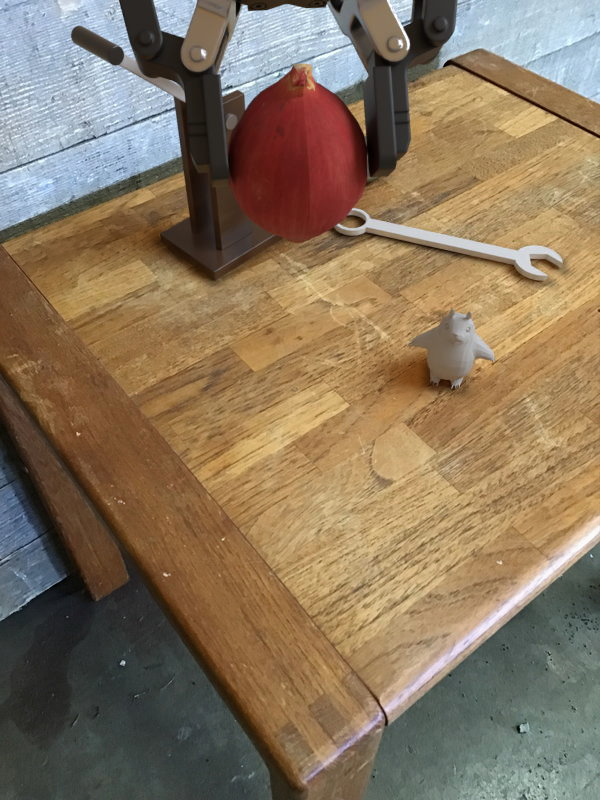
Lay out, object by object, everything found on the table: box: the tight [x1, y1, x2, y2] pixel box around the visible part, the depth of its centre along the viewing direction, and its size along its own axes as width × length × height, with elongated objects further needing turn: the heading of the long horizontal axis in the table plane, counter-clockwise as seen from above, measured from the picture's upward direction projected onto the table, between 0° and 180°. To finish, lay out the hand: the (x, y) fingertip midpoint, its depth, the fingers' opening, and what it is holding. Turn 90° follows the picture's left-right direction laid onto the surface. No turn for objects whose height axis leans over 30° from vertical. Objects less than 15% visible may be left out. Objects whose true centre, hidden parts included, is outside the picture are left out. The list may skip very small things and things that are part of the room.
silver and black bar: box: [70, 25, 185, 102], centre depth 63 cm, size 16×5×2 cm
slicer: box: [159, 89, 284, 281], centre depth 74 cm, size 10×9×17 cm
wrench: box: [333, 207, 564, 282], centre depth 79 cm, size 25×1×5 cm
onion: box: [227, 63, 367, 244], centre depth 30 cm, size 6×6×8 cm
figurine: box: [407, 308, 497, 390], centre depth 65 cm, size 8×6×8 cm
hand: (303, 176), depth 29 cm, fingers closed on onion, 5 cm apart
